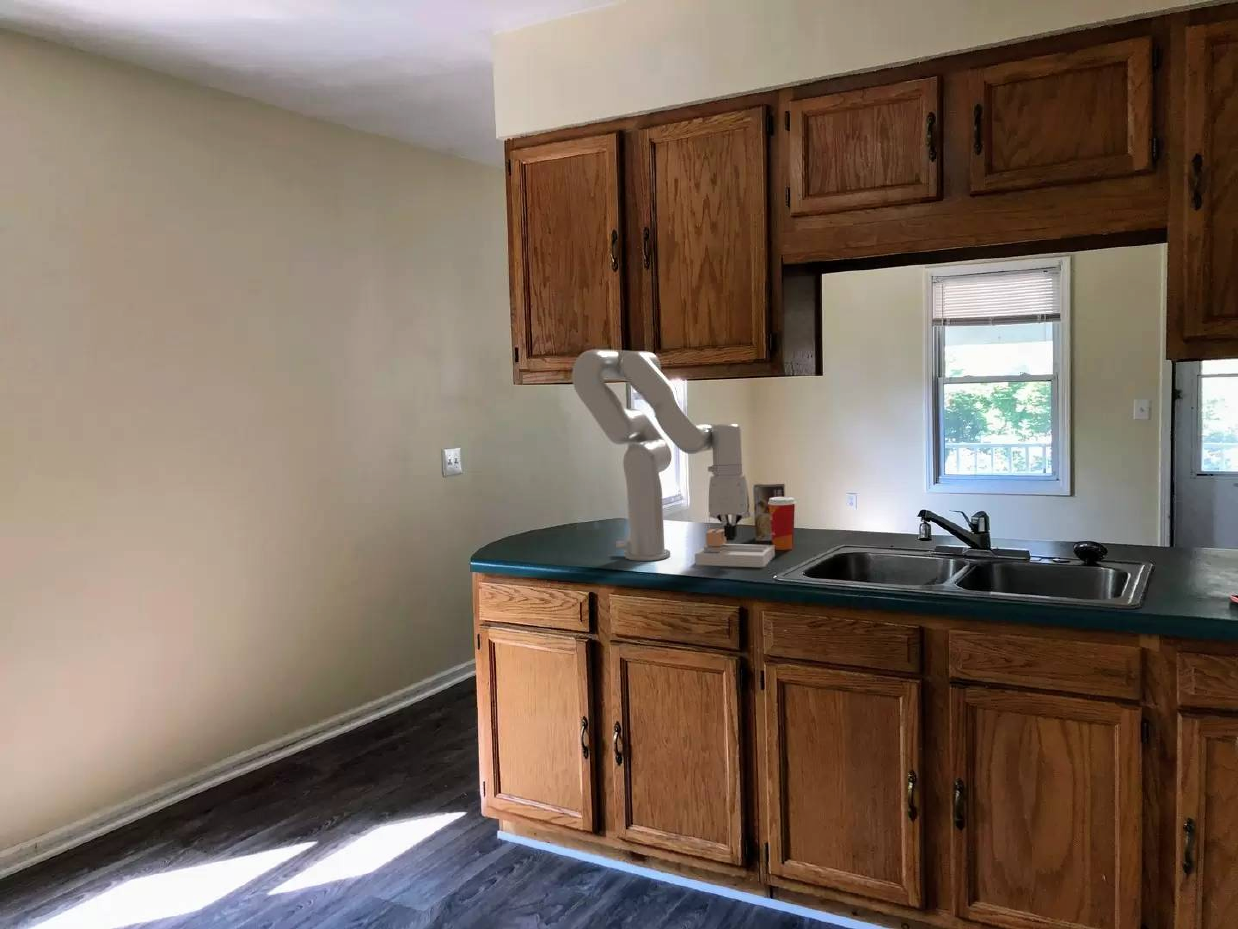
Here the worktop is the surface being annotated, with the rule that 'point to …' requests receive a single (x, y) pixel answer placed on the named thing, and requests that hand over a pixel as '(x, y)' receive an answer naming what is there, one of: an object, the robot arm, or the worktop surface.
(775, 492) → the coffee box
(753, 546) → the panel
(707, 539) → the fader knob
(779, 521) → the paper cup
